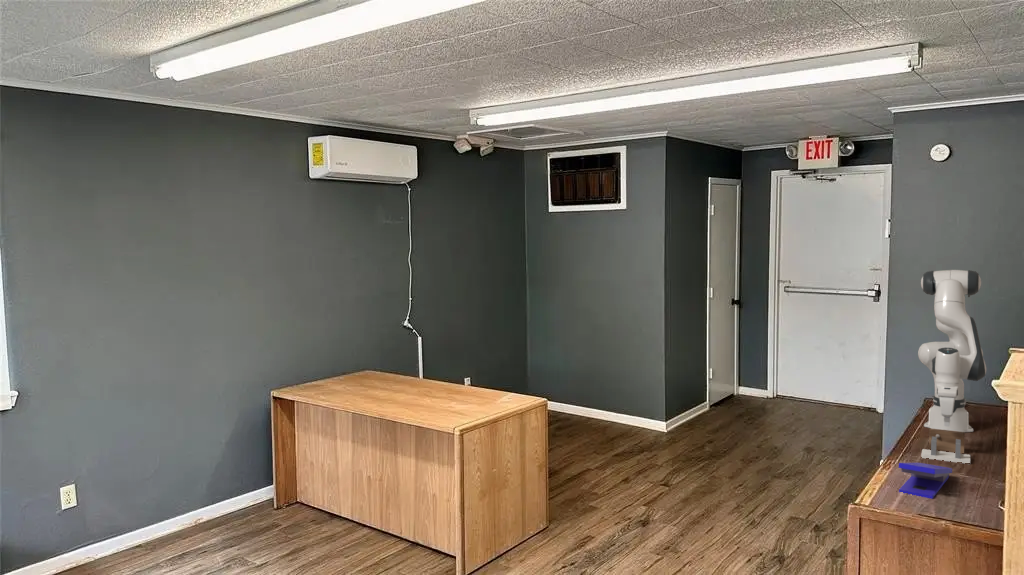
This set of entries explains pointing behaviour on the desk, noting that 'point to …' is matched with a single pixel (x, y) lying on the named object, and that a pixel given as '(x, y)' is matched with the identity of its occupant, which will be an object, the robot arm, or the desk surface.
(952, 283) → the robot arm
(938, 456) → the white and grey rack
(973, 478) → the desk surface
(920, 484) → the blue stacked plate part
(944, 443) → the door panel
